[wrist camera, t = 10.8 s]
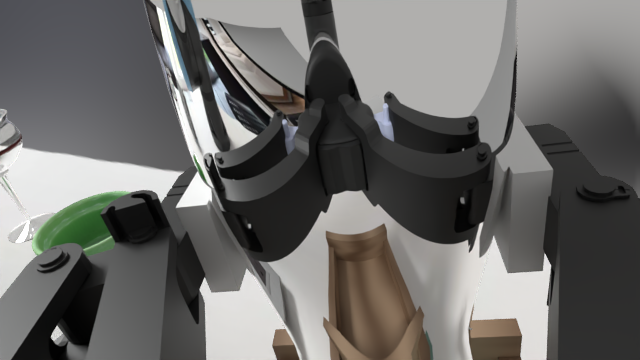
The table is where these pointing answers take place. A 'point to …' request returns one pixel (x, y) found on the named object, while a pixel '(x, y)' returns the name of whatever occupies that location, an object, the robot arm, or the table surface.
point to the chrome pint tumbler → (351, 157)
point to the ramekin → (78, 226)
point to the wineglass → (3, 150)
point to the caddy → (486, 341)
